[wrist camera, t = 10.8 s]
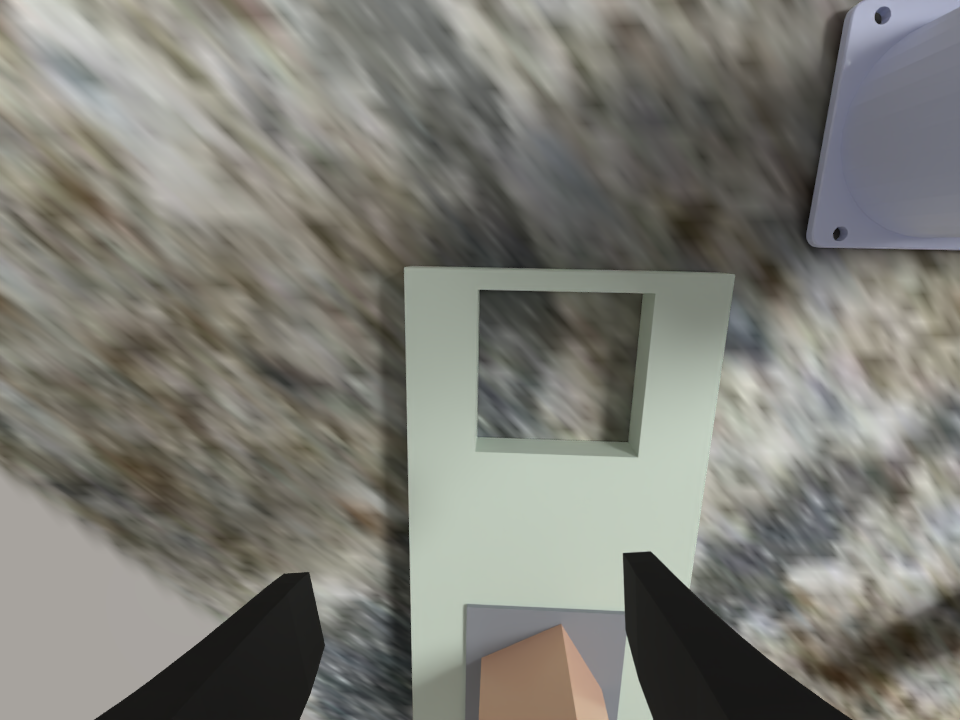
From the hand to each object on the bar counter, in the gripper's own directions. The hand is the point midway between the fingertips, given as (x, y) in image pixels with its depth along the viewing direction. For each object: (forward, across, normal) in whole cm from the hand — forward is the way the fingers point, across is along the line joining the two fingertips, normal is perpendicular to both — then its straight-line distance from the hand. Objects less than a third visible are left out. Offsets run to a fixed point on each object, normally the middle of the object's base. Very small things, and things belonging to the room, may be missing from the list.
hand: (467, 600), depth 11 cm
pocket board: (+10, -2, +4) cm, 11 cm away
